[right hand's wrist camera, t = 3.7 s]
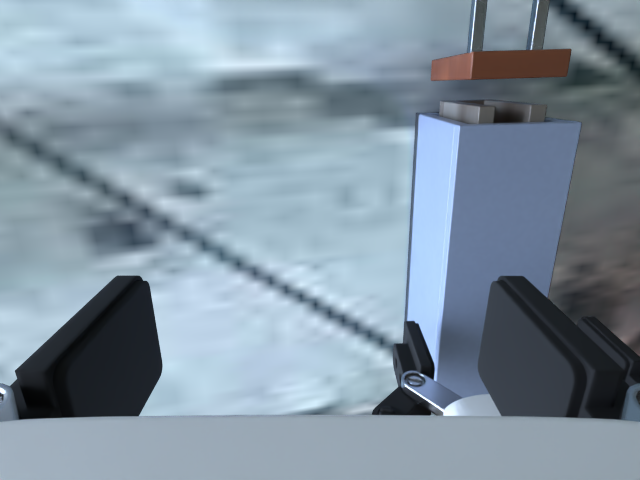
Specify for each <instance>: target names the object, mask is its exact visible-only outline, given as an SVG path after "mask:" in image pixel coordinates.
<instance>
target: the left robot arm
mask: <svg viewBox="0 0 640 480" xmlns="http://www.w3.org/2000/svg"><path fill="white" fill-rule="evenodd" d="M577 326H578V327H579V328H580V329H581V330H582V331H583V332H584V333H585V334H586V335H587V336H588V337H589V338H590V339H592V340H593V341H594V342H595V343H596V344H597V345H598V346H599V347H600V348H601V349H602V350H603V351H604V352H605V353H607V354H608V355H609V356H610V357H611V358H612V359H613V360H614V361H615V362H616V363H617V364H618V365H619V366H620V367H621V368H623V369H624V370H625V373H624V376H623V380H624V381H625V382H626V383H627V384H628V385H629V386H633V385H635V384H639V383H640V357H639V356H638V355H637V354H636V353H635V352H634V351H632V350H631V349H630V348H629V347H628V346H627V345H626V344H625V343H623V342H622V341H621V340H620V339H619V338H618V337H617V336H616V335H614V334H613V333H612V332H611V331H610V330H609V329H608V328H606V327H605V326H604V325H603V324H602V323H601V322H600V321H599V320H597V319H596V318H595V317H582V318H581V319H580V320H579V321H578V324H577ZM393 365H394V371H395V375H396V379H397V383H398V388H397V389H396V390H394V391H393V392H392V393H391V394H390V395H389V396H388V397H387V398H386V399H384V400H383V401H382V402H381V403H380V404H379V405H378V406H377V407H375V409H374V410H373V412H372V415H422V416H430V415H431V412H432V413H434V414H435V415H437V416H501V414H500V413H499V411H498V409H497V407H496V405H495V403H494V402H493V400H492V398H491V396H490V394H482V395H474V396H470V397H466V398H462V397H461V396H459V395H457V394H456V393H454V392H452V391H451V390H449V389H448V388H446V387H444V386H443V385H441V384H439V383H438V382H436V381H435V380H434V374H435V365H434V362H433V359H432V356H431V354H430V351H429V349H428V346H427V344H426V341H425V339H424V336H423V334H422V331H421V329H420V326H419V324H418V323H415V321H405V322H404V335H403V343H402V344H394V346H393Z"/></svg>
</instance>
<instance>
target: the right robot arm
mask: <svg viewBox="0 0 640 480" xmlns="http://www.w3.org/2000/svg"><path fill="white" fill-rule="evenodd" d="M15 373H16V376H17V380H16V381H15V382H14V383H13V384H12V385H11V386H7V385H5V384H1V383H0V480H640V383H639V384H635V385H633V386H629V385H628V384H627V383H626V382H625V381H624V380H623V376H624V373H625V370H624V369H623V368H621V367H620V366H619V365H618V364H617V363H616V362H615V361H614V360H613V359H612V358H611V357H610V356H609V355H608V354H607V353H605V352H604V351H603V350H602V349H601V348H600V347H599V346H598V345H597V344H596V343H595V342H594V341H593V340H592V339H590V338H589V337H588V336H587V335H586V334H585V333H584V332H583V331H582V330H581V329H580V328H579V327H578V326H577V325H575V324H574V323H573V322H572V321H571V320H570V319H569V318H568V317H567V316H566V315H565V314H564V313H563V312H562V311H561V310H559V309H558V308H557V307H556V306H555V305H554V304H553V303H552V302H551V301H550V300H549V299H548V298H547V297H546V296H544V295H543V294H542V293H541V292H540V291H539V290H538V289H537V288H536V287H535V286H534V285H533V284H532V283H531V282H530V281H528V280H527V279H526V278H525V277H524V276H500V277H499V278H498V280H497V281H493V282H492V283H491V286H490V292H489V298H488V304H487V310H486V316H485V322H484V328H483V334H482V340H481V346H480V352H479V358H478V373H479V376H480V378H481V380H482V382H483V383H484V385H485V387H486V389H487V391H488V393H489V394H490V396H491V398H492V400H493V402H494V403H495V405H496V407H497V409H498V411H499V413H500V414H501V416H422V415H209V416H139V414H140V413H141V411H142V409H143V407H144V405H145V403H146V402H147V400H148V398H149V396H150V394H151V393H152V391H153V389H154V387H155V385H156V383H157V382H158V380H159V378H160V376H161V373H162V358H161V352H160V346H159V340H158V334H157V328H156V322H155V316H154V310H153V304H152V298H151V292H150V286H149V283H148V282H147V281H143V280H142V278H141V277H140V276H116V277H115V278H114V279H113V280H112V281H110V282H109V283H108V284H107V285H106V286H105V287H104V288H103V289H102V290H101V291H100V292H99V293H98V294H97V295H96V296H94V297H93V298H92V299H91V300H90V301H89V302H88V303H87V304H86V305H85V306H84V307H83V308H82V309H81V310H79V311H78V312H77V313H76V314H75V315H74V316H73V317H72V318H71V319H70V320H69V321H68V322H67V323H66V324H65V325H63V326H62V327H61V328H60V329H59V330H58V331H57V332H56V333H55V334H54V335H53V336H52V337H51V338H50V339H48V340H47V341H46V342H45V343H44V344H43V345H42V346H41V347H40V348H39V349H38V350H37V351H36V352H35V353H33V354H32V355H31V356H30V357H29V358H28V359H27V360H26V361H25V362H24V363H23V364H22V365H21V366H20V367H19V368H17V369H16V370H15Z"/></svg>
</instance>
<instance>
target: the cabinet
mask: <svg viewBox="0 0 640 480" xmlns="http://www.w3.org/2000/svg"><path fill="white" fill-rule="evenodd" d="M581 125H582V123H581V122H576V121H569V120H562V119H555V118H548V117H545V121H544V122H521V123H486V124H466V123H463V122H459V121H455V120H451V119H447V118H444V117H440V116H439V112H438V113H416V124H415V142H414V160H413V179H412V197H411V215H410V234H409V252H408V270H407V289H406V307H405V321H415V323H418V324H419V326H420V329H421V331H422V334H423V336H424V339H425V341H426V344H427V346H428V349H429V351H430V354H431V356H432V359H433V362H434V365H435V374H434V380H435V381H436V382H438V383H439V384H441V385H443V386H444V387H446V388H448V389H449V390H451V391H452V392H454V393H456V394H457V395H459V396H461V397H462V398H466V397H470V396H474V395H482V394H489V393H488V391H487V389H486V387H485V385H484V383H483V382H482V380H481V378H480V376H479V373H478V358H479V352H480V346H481V340H482V334H483V328H484V322H485V316H486V310H487V304H488V298H489V292H490V286H491V283H492V282H493V281H497V280H498V278H499V277H500V276H524V277H525V278H526V279H527V280H528V281H530V282H531V283H532V284H533V285H534V286H535V287H536V288H537V289H538V290H539V291H540V292H541V293H542V294H543V295H544V296H546V297H547V298H548V295H549V289H550V284H551V279H552V274H553V269H554V264H555V259H556V254H557V248H558V243H559V238H560V233H561V228H562V223H563V218H564V213H565V207H566V202H567V197H568V192H569V187H570V182H571V177H572V172H573V166H574V161H575V156H576V151H577V146H578V141H579V136H580V131H581Z"/></svg>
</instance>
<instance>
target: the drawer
mask: <svg viewBox="0 0 640 480" xmlns="http://www.w3.org/2000/svg"><path fill="white" fill-rule="evenodd" d="M549 4H550V0H533V4H532V11H531V18H530V25H529V33H528V40H527V47H526V50H511V51H482V48H483V39H484V29H485V20H486V10H487V0H472V4H471V15H470V26H469V37H468V48H467V53H465V54H460V55H455V56H450V57H446V58H441V59H436V60H432V69H431V81H440V80H474V79H509V78H542V77H566V76H567V73H568V67H569V61H570V56H571V49H545V50H542V49H543V43H544V36H545V30H546V23H547V17H548V10H549ZM546 109H547V105H546V104H535V103H523V102H512V101H501V100H461V101H440V112H439V116H440V117H444V118H447V119H451V120H455V121H459V122H463V123H466V124H486V123H521V122H544V121H545V115H546Z"/></svg>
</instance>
